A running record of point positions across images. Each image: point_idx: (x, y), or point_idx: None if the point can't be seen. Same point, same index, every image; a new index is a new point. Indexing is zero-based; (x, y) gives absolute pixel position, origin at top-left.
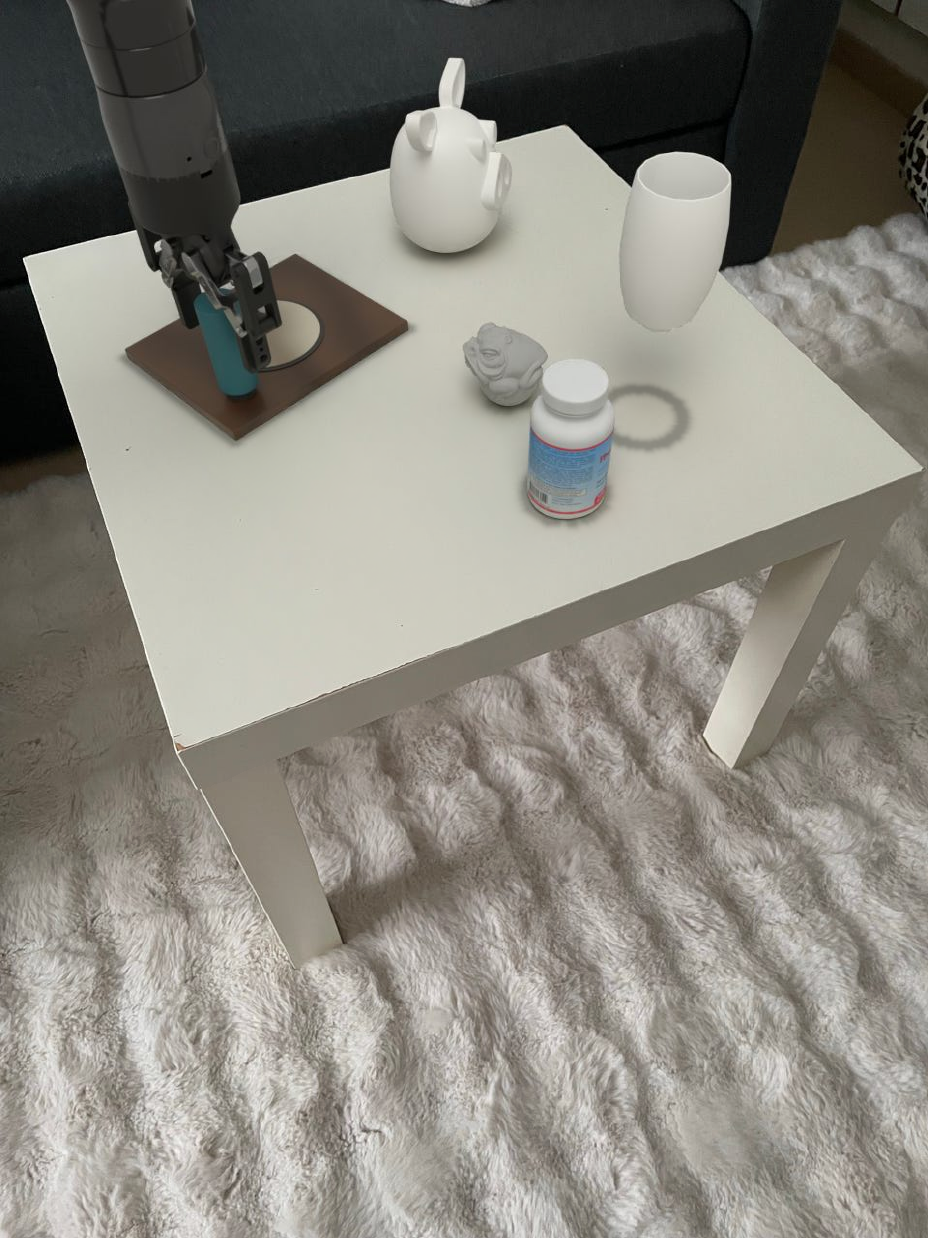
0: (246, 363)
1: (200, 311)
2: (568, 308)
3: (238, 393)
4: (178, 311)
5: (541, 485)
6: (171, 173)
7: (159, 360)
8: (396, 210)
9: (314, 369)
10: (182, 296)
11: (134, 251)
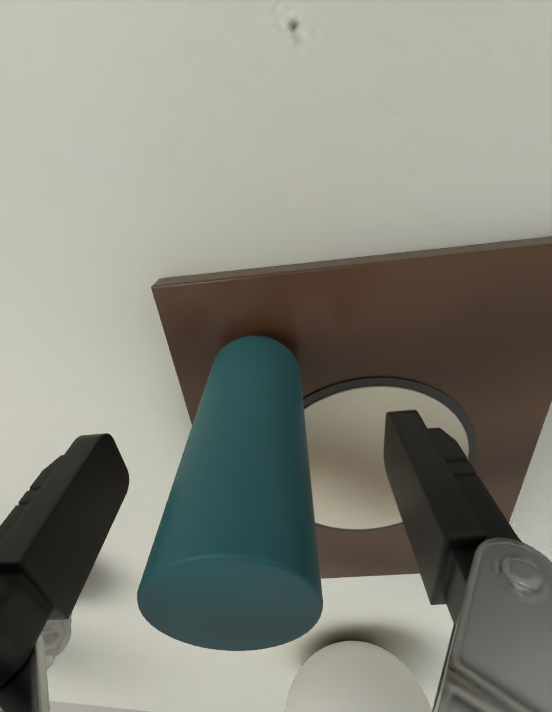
0: (65, 458)
1: (196, 560)
2: (162, 652)
3: (215, 358)
4: (433, 446)
5: None
6: None
7: (488, 283)
8: (386, 706)
9: None
10: (429, 519)
11: None
